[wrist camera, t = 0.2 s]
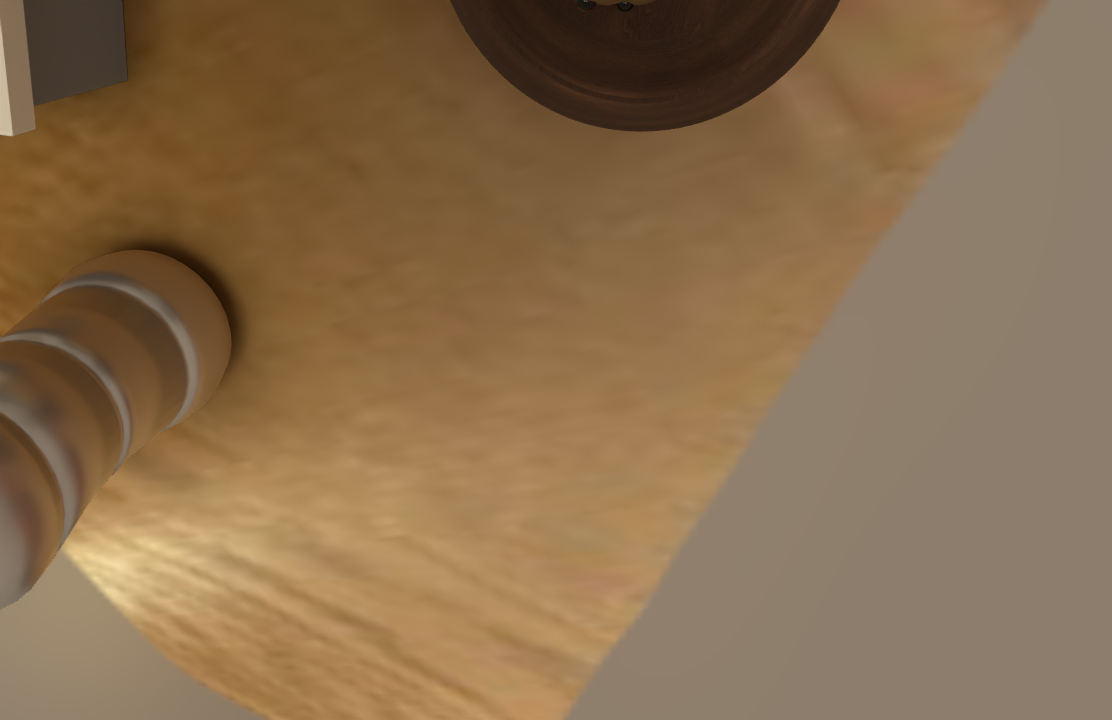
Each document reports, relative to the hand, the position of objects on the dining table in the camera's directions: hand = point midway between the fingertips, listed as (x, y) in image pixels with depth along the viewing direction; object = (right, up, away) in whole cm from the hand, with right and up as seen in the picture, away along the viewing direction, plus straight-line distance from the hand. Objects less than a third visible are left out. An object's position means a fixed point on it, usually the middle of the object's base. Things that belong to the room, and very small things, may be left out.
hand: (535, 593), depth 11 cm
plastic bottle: (-15, +4, +30) cm, 34 cm away
